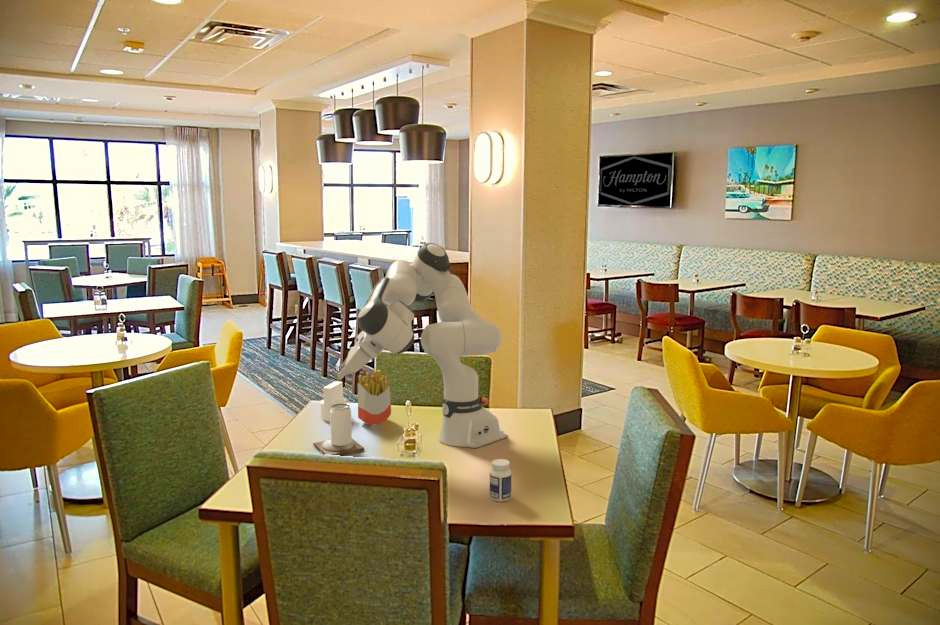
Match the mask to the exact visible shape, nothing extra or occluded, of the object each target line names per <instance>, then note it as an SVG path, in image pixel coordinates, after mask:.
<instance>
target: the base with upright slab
mask: <svg viewBox="0 0 940 625" xmlns="http://www.w3.org/2000/svg"><path fill="white" fill-rule="evenodd" d="M343 386H344V384H343V381H337V380H336V381H333V382H331V383H328V384H327V385H325V386H324V387H323V389H322V391H323V393H322V394H323V398H322V399H321V400H320V419H321V420H322V421H325V422H330V411H331V406H332V405H335V404H347V399H346V398H345V397H344V388H343Z"/></svg>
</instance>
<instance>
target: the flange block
mask: <svg viewBox="0 0 940 625" xmlns="http://www.w3.org/2000/svg"><path fill="white" fill-rule="evenodd" d="M312 444H313V445H314V446H315V447H316V448H317V449H318V450H320V451H321V452H322V453H323V454H331V455H342V456H346V455H351V454H355V453H361V452H364V451H365V447H364V446H362V445H361V444H360V443H359V442H358V441H356V440H355V439H354V438H352V442H351V443H350V444H349V445H347V446H334V445H332V444H331V438H330V439H328V440H322V441H317V442H313V443H312ZM314 446H313V447H314ZM315 447H314V448H315ZM316 448H315V449H316ZM317 449H316V450H317ZM318 450H317V451H318ZM322 453H321V454H322ZM323 454H322V455H323Z"/></svg>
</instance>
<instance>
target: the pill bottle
mask: <svg viewBox="0 0 940 625" xmlns="http://www.w3.org/2000/svg"><path fill="white" fill-rule="evenodd" d="M510 465H511V464H510V461H509V460H508V459H506V458H505V459H503V458H497V459H494V460H492V461H491V469H490V471H489V498H490V500H491V501H495V502H499V503H500V502H501V503H502V502H507V501H510V499H511V498H512V471H511V469H510V467H511V466H510Z"/></svg>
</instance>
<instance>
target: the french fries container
mask: <svg viewBox="0 0 940 625" xmlns="http://www.w3.org/2000/svg"><path fill="white" fill-rule="evenodd" d="M365 373H366V374H365V375H361V374H360V375H358V376H357V378H358V382H357V383H356V384H357V418H358V419H359V420H361V421H362V422H363V423H365V424H366V423H367V425H369V426H371V427H373V426H376V425H375V424H377V425H380V424H379V423H381V424H384V423H383V422H385V423H386V422H387V420H388V419H389V417H390V416H391V415H392V400H391V390H390V389H391V388H390V383H389V380H388V377H387V376H385V375H382V370H381V369H377V370H375V371H372V375H370V372H365ZM372 425H373V426H372Z"/></svg>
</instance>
